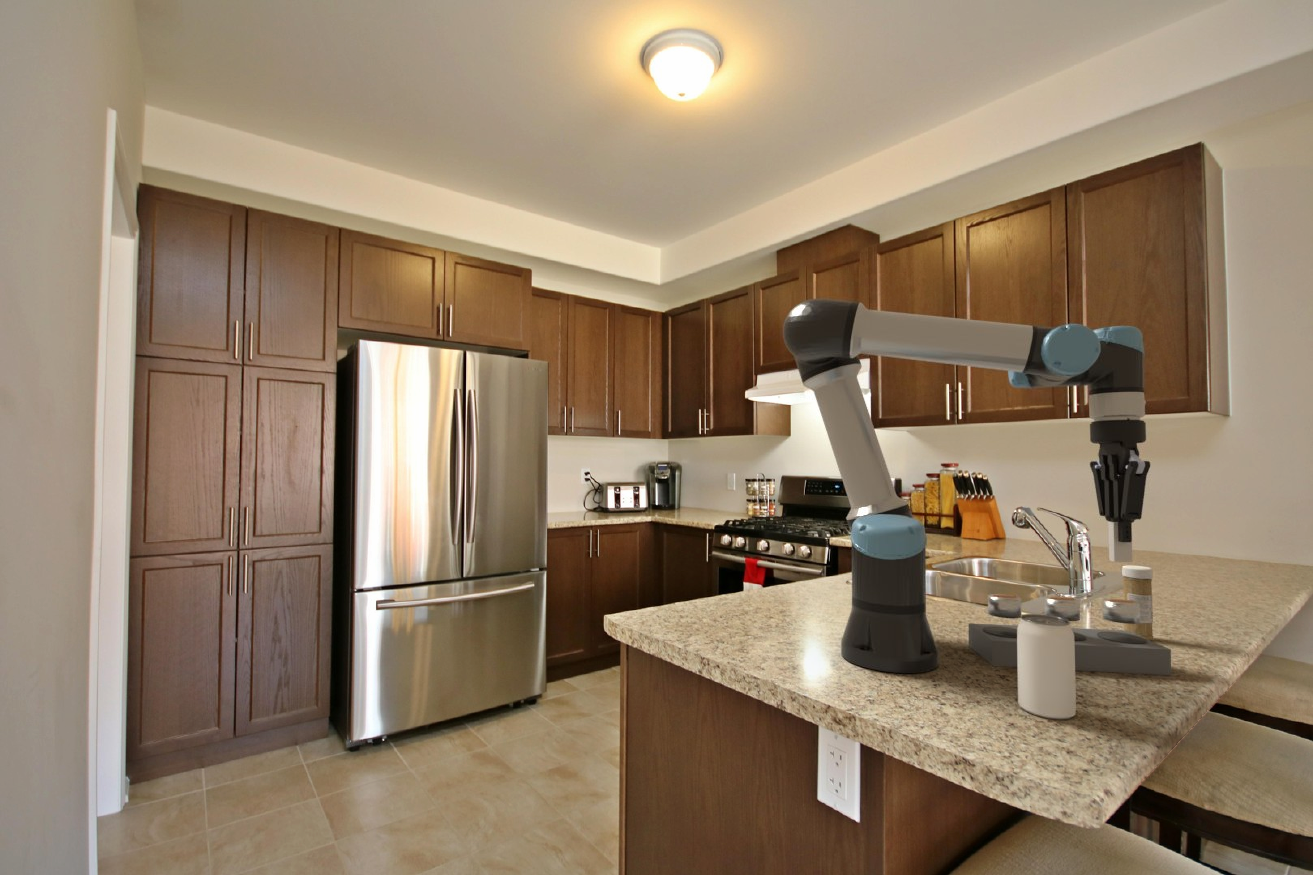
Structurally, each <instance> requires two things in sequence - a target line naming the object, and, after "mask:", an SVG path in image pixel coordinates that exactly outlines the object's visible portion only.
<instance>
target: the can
mask: <svg viewBox="0 0 1313 875" xmlns="http://www.w3.org/2000/svg"><path fill="white" fill-rule="evenodd" d="M1017 626H1018V627H1017V666H1018V667H1017V702H1018V706H1020V708H1021V709H1022V710H1024V711H1025V712H1026V713H1028V714H1030V715H1033V716H1036V717H1040V718H1044V719H1050V720H1055V721H1056V720H1058V721H1059V720H1060V721H1061V720H1062V721H1063V720H1070V719H1072V718H1073V717H1074V716H1075V715H1076V714H1077V712H1076V711H1077V710H1076V709H1077V708H1076V707H1077V706H1076V702H1077V701H1076V699H1077V698H1076V695H1077V694H1076V670H1075V643H1074V633H1073V631H1072V630H1071V628H1072V627H1071V621H1068V620H1066V619H1063V618H1059V617H1055V616H1049V615H1045V614H1037V613H1026V614H1022V615H1021V618H1020V621H1019V623H1018V625H1017Z"/></svg>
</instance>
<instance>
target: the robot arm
mask: <svg viewBox="0 0 1313 875" xmlns="http://www.w3.org/2000/svg"><path fill="white" fill-rule="evenodd" d="M782 338H783V341H784V344H785V347H786V348H787V350H788V351H789V352H790V354H792V355H793V358H794V360H795V363H796V366H797V369H798V373H799V376H800V379H801V382H802V385H803V387H806V388H807V389H810V390H811V391H812V392H813V394H814V396H815V397H814V398H815V399H816V400H815V401H816V403H817V405H818V409H819V412H820V415H821V419H822V421H823V424H824V427H825V432H826V434H827V437H828V440H829V442H830V446H831V449H832V452H833V456H834V458H835V462H836V465H837V468H838V471H839V474H840V477H841V480H842V482H843V487H844V490H845V493H846V496H847V498H848V502H849V505H850V510H849V512H848V513H847V516H846V517H845V519H846V522H847V525H848V529H849V531H850V536H849V538H850V541H851V610H850V614H849V616H848V619H847V622H846V625H845V628H844V631H843V635H842V638H841V642H840V652H841V653H840V654H841V656H842V658H844V659H845V660H846V661H848V662H849V663H852V664H854V665H856V666H860V667H863V668H866V669H870V670H875V671H881V672H888V673H897V674H917V673H926V672H929V671H933V670H935V669H936V668H937V667H938V666H939V650H938V647H937V643H936V641H935V637H934V634H933V632H932V630H931V626H930V622H929V620H928V618H927V584H926V583H927V582H926V581H927V580H926V578H927V576H926V574H927V571H926V569H927V568H926V567H927V566H926V565H927V564H926V562H927V560H926V558H927V557H926V556H927V554H926V546H927V542H928V539H927V537H928V536H927V535H926V529H925V528H926V527H925V525H924V524H923V523H922V521H920V520H918V518H914V516H913V513H912V511H911V508H910V505H909V502H908V501H907V500H905V499H903V498H901V497H899V496H898V495H897V493H896V489H895V487H894V484H893V481H892V478H891V475H890V471H889V468H888V465H887V463H886V460H885V457H884V454H883V451H882V448H881V445H880V442H879V439H878V436H877V432H876V430H875V426H874V424H873V421H872V419H871V415H870V413H869V412H870V411H869V409H868V406H867V403H866V400H865V397H864V394H863V392H862V391H863V390H862V389H861V386H860V382H859V379H858V375H859V373H860V371H861V369H862V363H861V360H860V357H859V355H862V354H863V355H869V356H879V357H889V358H896V359H905V360H914V361H923V362H928V363H929V362H931V363H939V364H949V365H955V366H964V367H965V366H966V367H971V368H972V367H974V368H980V369H982V368H983V369H989V370H997V371H998V370H999V371H1006V372H1007V374H1008V381H1009V384H1010V385H1011V387H1013V388H1014V389H1022V388H1023V389H1031V390H1034V389H1036V388H1037V389H1038V388H1039V389H1040V388H1055V387H1056V388H1057V387H1073V386H1074V387H1085V386H1088V391H1089V392H1088V394H1089V395H1088V406H1089V408H1088V409H1089V413H1088V414H1089V418H1090V419H1091V420H1093V421H1092V422H1091V423H1089V436H1090V437H1089V439H1090V440H1089V441H1090V442H1091V443H1092V444H1094V445H1095V444H1098V445H1099V449H1098V454H1097V456H1098V458H1097V460H1096V461H1093V460H1091V461H1090V463H1089V467H1090V470H1091V472H1092V475H1093V480H1094V488H1095V493H1096V501H1097V507H1098V512H1099V516H1100V517H1104V518H1105V520H1106V521H1107V522H1108V525H1107V526H1108V554H1109V555H1108V557H1109V558H1108V559H1109V561H1110V562H1112V563H1113V562H1114V563H1133V533H1132V523H1134V522H1135V521H1136V520H1141V519H1142V515H1143V506H1144V498H1145V491H1146V483H1147V475H1148V473H1149V471H1150V467H1151V462H1150V461H1149V460H1142V459H1141V458H1140V451H1139V448H1138V444H1143V443H1145V442H1146V441H1147V425H1146V422H1145V420H1142V419H1141V418H1144V417H1145V416H1146V407H1145V406H1146V404H1147V401H1146V400H1145V355H1146V353H1145V348H1144V339H1143V333H1142V331H1141V330H1140V328H1138V327H1135V326H1133V325H1132V326H1131V325H1116V326H1108V327H1101V328H1096V329H1092V328H1090V327H1088V326H1086V325H1084V324H1081V323H1080V324H1079V323H1067V324H1063V325H1059V326H1055V327H1049V326H1042V325H1041V326H1040V325H1039V326H1037V325H1030V324H1028V325H1027V324H1018V323H1008V322H998V321H987V320H977V319H967V318H955V317H947V316H938V315H937V316H936V315H927V314H916V313H905V312H898V311H897V312H896V311H886V310H878V309H877V310H876V309H869V308H867V307H866V306H865V305H864V303H862V302H856V301H846V300H837V299H831V298H830V299H829V298H812V299H807V300H804V301H802V302H801V303H798V304H796V306H794V307H793V308H792V309H791V310H790V311H789V313H788V314H787V316H786V318H785V320H784V323H783V326H782Z"/></svg>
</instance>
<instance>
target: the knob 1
mask: <svg viewBox="0 0 1313 875" xmlns="http://www.w3.org/2000/svg"><path fill="white" fill-rule="evenodd" d="M1022 611H1023V610H1022V598H1021V597H1020V596H1017V595H1015V594H1013V595H1011V594H1003V593H989V594H987V613H988V615H990V616H991V617H996V618H1002V619H1016V620H1017V619H1021V615H1023V613H1022Z"/></svg>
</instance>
